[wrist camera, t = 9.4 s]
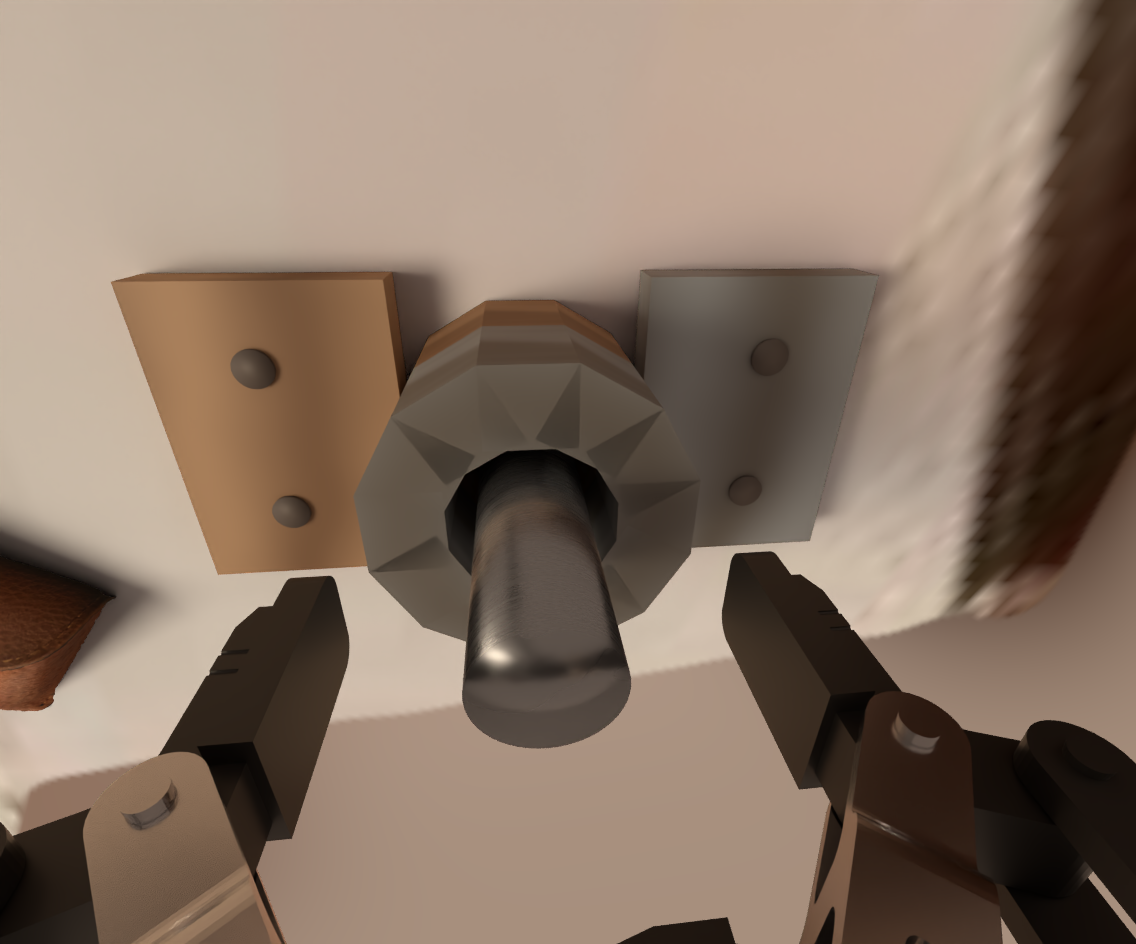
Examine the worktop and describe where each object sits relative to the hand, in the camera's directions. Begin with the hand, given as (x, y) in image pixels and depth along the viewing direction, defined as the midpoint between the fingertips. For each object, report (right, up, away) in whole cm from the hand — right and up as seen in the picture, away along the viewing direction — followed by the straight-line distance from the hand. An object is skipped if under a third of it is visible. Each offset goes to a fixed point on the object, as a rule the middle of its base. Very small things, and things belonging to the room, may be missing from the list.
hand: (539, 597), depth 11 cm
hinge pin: (-1, +5, +8) cm, 10 cm away
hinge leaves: (-1, +5, +8) cm, 10 cm away
